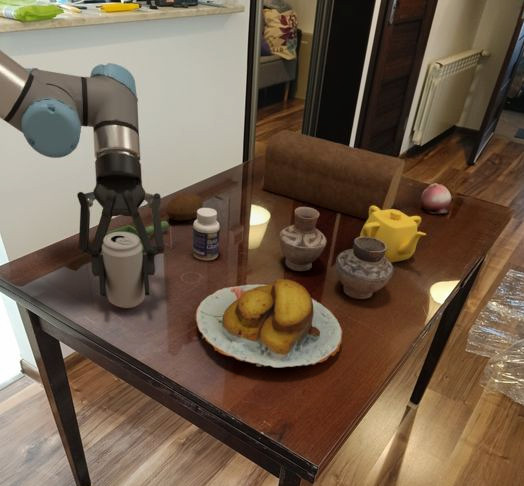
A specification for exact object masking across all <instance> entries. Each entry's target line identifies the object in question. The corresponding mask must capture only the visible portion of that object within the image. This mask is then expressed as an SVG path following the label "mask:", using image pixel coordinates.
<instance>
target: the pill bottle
mask: <svg viewBox="0 0 524 486" xmlns="http://www.w3.org/2000/svg"><path fill="white" fill-rule="evenodd" d="M217 219H218V212H217V210H216V209H214V208H212V207H203V208H200V209H198V210H197V217H196V218H195V219H194V222H193V224H192V225H193V226H192V255H193V257H194V258H196V259H197V260H200V261H206V262H207V261H213V260H215V259H216V258H218V256H219V247H220V233H221V231H220V229H221V228H220V227H221V225H220V223H219V221H218V220H217Z"/></svg>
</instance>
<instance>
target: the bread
mask: <svg viewBox="0 0 524 486" xmlns="http://www.w3.org/2000/svg"><path fill="white" fill-rule="evenodd" d="M264 157H265V158H264V165H263V166H264V168H263V177H262V190H265V191H268V192H271V193H274V194H277V195H281V196H285V197H287V198H290V199H293V200H294V199H295V200H297V201H301V202H304V203H307V204H311V205H315V206H319V207H321V208H324V209H327V210H331V211H334V212H337V213H341V214H345V215H348V216H352V217H355V218H358V219H362V220H366V221H367V220H368V218H369V208H370V206H376V207H378V208H379V209H380V210H387V209H392V207H393V206H394V203H395V201H396V200H395V199H396V197H397V192H398V190H399V185H400V182H401V177H402V174H403V171H404V167H405V163H406V161H405V160H404V159H402V158H398V157H395V156H391V155H386V154H381V153H377V152H373V151H370V150H365V149H362V148H357V147H354V146H349V145H346V144H342V143H339V142H334V141H330V140H327V139H323V138H319V137H315V136H311V135H307V134H304V133H300V132H295V131H291V130H289V129H288V130H287V129H283V130H280V131H278V132H277V133H275V134H273V135H271V136H270V137H269V139H268V140H267V142H266V147H265V156H264Z"/></svg>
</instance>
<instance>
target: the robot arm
mask: <svg viewBox="0 0 524 486" xmlns="http://www.w3.org/2000/svg"><path fill="white" fill-rule="evenodd" d="M138 102H139V98H138V94H137V87H136V80H135V77H134V76H133V74H132V73H131V71H130V70H128V69H127V68H125V67H124V66H122V65H119V64H116V63H112V62H111V63H110V62H108V63H106V64H103V63H101V64H97V65H96V66H94V67H93V68H92V70H91V72H90V76H81V75H80V76H79V75H73V74H67V73H61V72H55V71H50V70H44V69H40V68H37V67H31V68H28V67H25V66H23V65H21V64H20V63H18V62H17V61H16V60H15V59H13V58H12V57H10V56H9V55H8V54H7V53H5V52H4V51H2V50H1V49H0V119H2V120H3V121H4V122H6V123H7V124H9V125H10V126H12V127H13V128H14V129H16V130H17V131H19V132H21V133H22V134H23V137H24V139H25V140H26V142H27V143H28V145H29V146H30V147H31V148H32V149H33V150H34V151H35V152H37V154H40V155H42V156H44V157H47V158H51V159H60V158H64V157H66V156H69V155H70V154H71V153H73V152H74V151H75V150H76V149H77V148H78V145H79V142H80V138H81V133H82V127H87V128H88V127H89V128H92V129H93V149H94V150H93V151H94V157H95V161H94V168H95V169H94V170H95V186H94V188H93V191H90V192H86V193H85V192H83V191H79V192H77V194H76V197H77V200H78V203H79V205H80V209H79V212H80V213H79V235H78V249H79V251H80V253H81V254H82V255H84V256H85V255H86V256H89V257H90V260H91V263H90V264H91V273H92V274H93V277H98V278H99V279H98V280H99V295H100V297H101V298H107V287H106V279H105V270H104V262H103V254H101V253H102V245H103V243H104V241H103V240H104V237H105V236H106V234H107V232H108V230H109V227H110V224H111V222H112V219H113V217H119V216H123V217H130V218H131V220H132V222H133V225H134V228H136V230H137V232H138V235H139V237H140V240H141V242H142V244H143V247H144V249H145V250H144V252H145V253H143V271H144V288H145V297H147V296H150V280H149V278H150V277H149V276H155V273H156V261H155V258H156V256H157V255H162V254H164V253H165V239H164V234H163V233H164V232H163V230H162V227H161V222H162V221H161V214H160V206H161V200H162V199H161V197H162V196H161V194H159V193H157V192H156V193H154V194H152V193H149V192H146V190H145V188H144V187H143V176H142V164H141V162H140V161H141V147H140V146H141V144H140V143H141V142H140V131H139V130H140V129H139V111H138V110H139V107H138V105H139V104H138ZM95 200H96V201H97V202H98V204H99V205H100V206H101V207H102V211H101V215H100V219H99V222H98V226H97V228H96V232H95V234H94V237H93V241H92V245H91V246H90V225H91V223H90V222H91V210H90V209H91V208H92V207H93V205H94V201H95ZM144 201H146V203H147V207H148V208H150V209H151V219H152V225H153V226H154V233H153V234H154V239H155V245H154V246H153V244H152V242H151V238H150V239H149V237H150V236H149V235H148V234H147V232H146V229H145V228H146V227H145V225H144V222H143V220H142V217H141V214H140V212H139V210H138V209H139V208H140V207H141V205H142V204H143V203H144ZM148 236H149V237H148Z"/></svg>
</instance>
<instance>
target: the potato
mask: <svg viewBox="0 0 524 486" xmlns="http://www.w3.org/2000/svg"><path fill="white" fill-rule="evenodd" d="M200 208H204V202H203V200H202V198H201V197H200V196H199V195H198V194H196V193H189V192H180V193H178V194H176V195H175V196H173V197H172V198H171V199H170V200H169V202H168V203H167V207H166V213H167V216H168V217H169V218H170V219H171V220H174V221H177V222H183V221H184V222H185V221H186V222H187V221H191V220H195V219H197V210H198V209H200Z"/></svg>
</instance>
